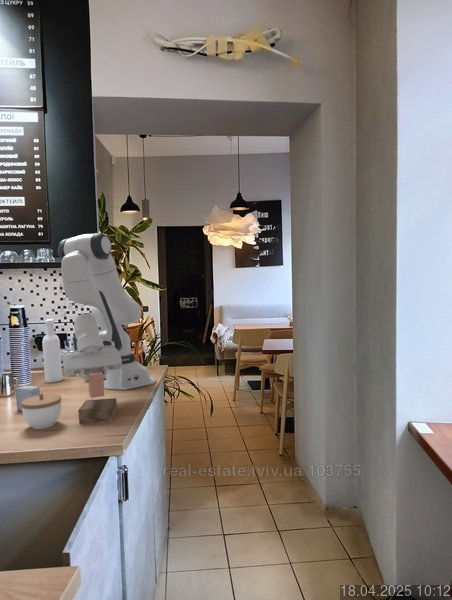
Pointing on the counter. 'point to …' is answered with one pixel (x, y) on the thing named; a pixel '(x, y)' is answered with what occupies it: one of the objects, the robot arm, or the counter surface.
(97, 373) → the terracotta block
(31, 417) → the lidded bowl
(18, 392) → the medicine box
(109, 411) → the walnut block
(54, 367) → the bottle
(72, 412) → the counter surface
